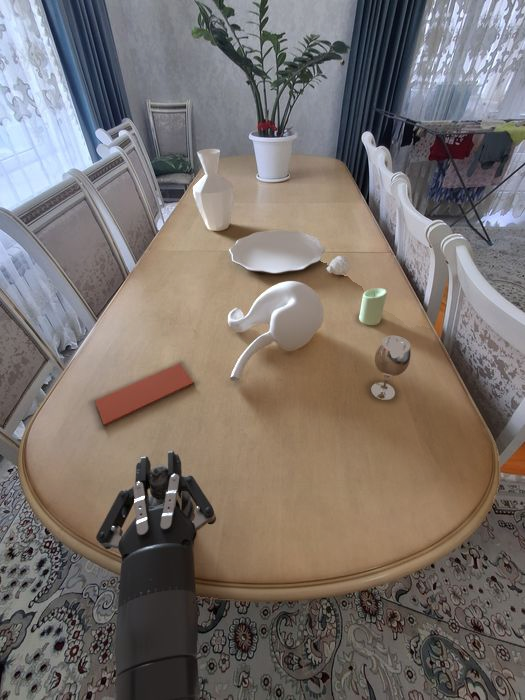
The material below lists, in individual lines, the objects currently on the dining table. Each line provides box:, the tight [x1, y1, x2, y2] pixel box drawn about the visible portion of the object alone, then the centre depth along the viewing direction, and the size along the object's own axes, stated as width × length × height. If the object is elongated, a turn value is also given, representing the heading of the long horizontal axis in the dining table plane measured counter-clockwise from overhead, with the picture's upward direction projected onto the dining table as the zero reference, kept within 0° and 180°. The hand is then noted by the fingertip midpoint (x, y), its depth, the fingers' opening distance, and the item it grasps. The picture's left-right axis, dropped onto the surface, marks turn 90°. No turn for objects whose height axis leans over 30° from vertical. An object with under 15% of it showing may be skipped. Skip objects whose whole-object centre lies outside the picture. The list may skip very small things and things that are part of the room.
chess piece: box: [148, 465, 194, 520], centre depth 48 cm, size 6×6×12 cm
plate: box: [228, 229, 326, 275], centre depth 110 cm, size 29×29×2 cm
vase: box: [192, 148, 235, 232], centre depth 123 cm, size 14×14×25 cm
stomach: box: [227, 280, 325, 383], centre depth 76 cm, size 23×13×24 cm
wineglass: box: [370, 335, 412, 401], centre depth 63 cm, size 6×6×12 cm
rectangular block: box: [94, 362, 194, 426], centre depth 70 cm, size 18×7×1 cm, turn 123°
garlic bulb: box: [326, 255, 351, 276], centre depth 99 cm, size 6×6×5 cm
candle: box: [358, 287, 388, 326], centre depth 82 cm, size 5×5×8 cm
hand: (158, 457), depth 47 cm, fingers closed on chess piece, 3 cm apart
